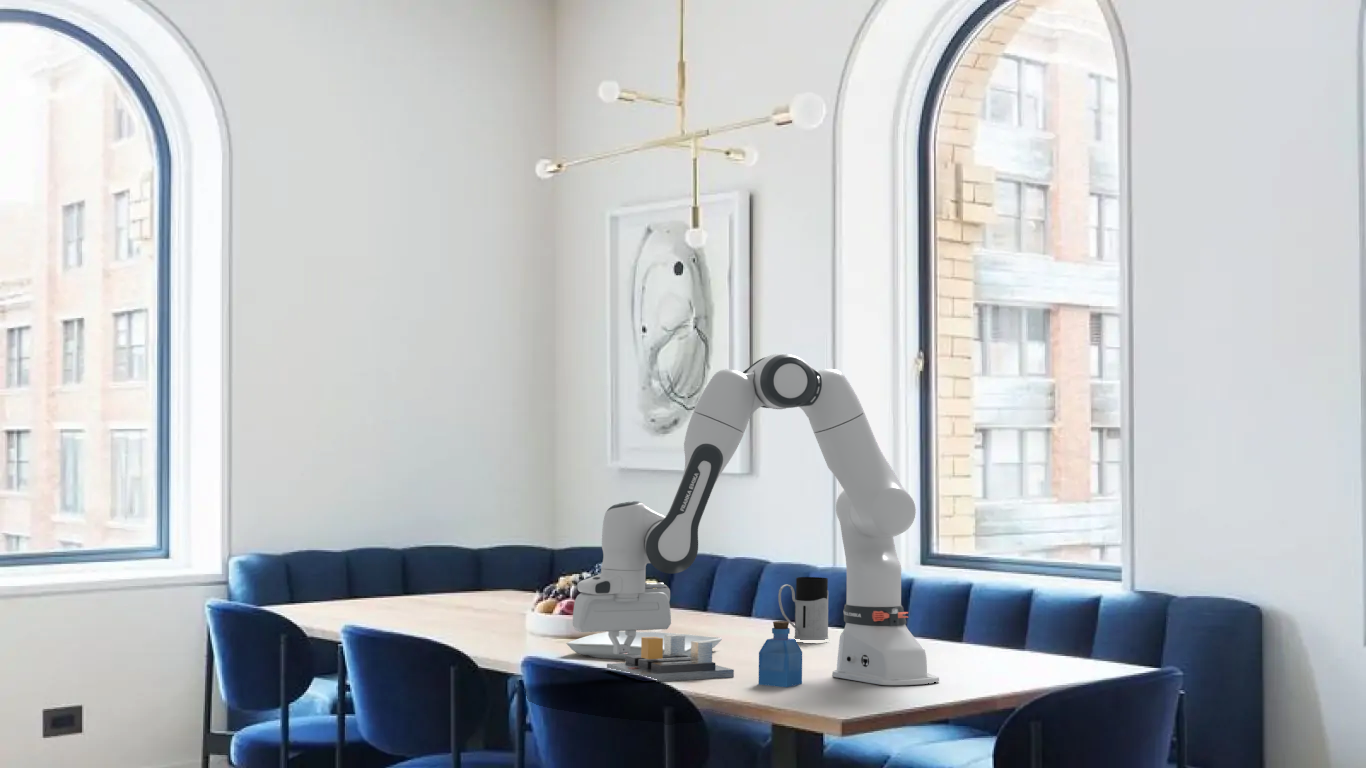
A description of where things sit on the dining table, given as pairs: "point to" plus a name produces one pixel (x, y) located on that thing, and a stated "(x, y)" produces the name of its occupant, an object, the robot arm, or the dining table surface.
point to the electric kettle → (809, 608)
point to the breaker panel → (677, 662)
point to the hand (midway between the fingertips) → (621, 653)
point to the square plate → (603, 646)
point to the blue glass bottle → (780, 659)
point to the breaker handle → (652, 648)
